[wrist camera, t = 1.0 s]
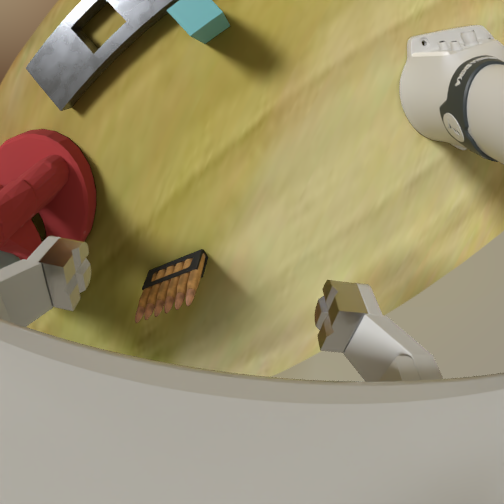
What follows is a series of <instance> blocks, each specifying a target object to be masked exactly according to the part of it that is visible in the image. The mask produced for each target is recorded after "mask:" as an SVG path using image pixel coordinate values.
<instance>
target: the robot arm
mask: <svg viewBox="0 0 504 504" xmlns="http://www.w3.org/2000/svg"><path fill="white" fill-rule="evenodd" d="M422 41H423V42H424V46H423V45H422ZM400 99H401V104H402V107H403V110H404V112H405V115H406V117H407V118H408V120H409V122H410V123H411V124H412V126H413V127H414V128H415V129H416V130H417V131H418V132H419V133H421V134H422V135H424V136H425V137H427V138H429V139H432V140H436V141H443V142H448V143H450V144H451V145H453V146H454V147H456V148H458V149H461V150H466V149H469V150H470V151H472V152H474V153H476V154H478V155H480V156H482V157H483V158H485V159H488V160H491V161H496V162H500V163H502V164H504V46H503V45H502V44H501V43H500V42H499V41H498V40H495V39H494V38H493V36H492V35H491V34H490V33H489V32H488V31H487V30H486V29H485V28H484V27H483V26H481V25H471V26H464V27H458V28H452V29H447V30H441V31H436V32H431V33H426V34H422V35H417V36H413V37H411V38H409V40H408V43H407V61H406V64H405V66H404V69H403V71H402V75H401V79H400ZM88 254H89V250H88V245H87V244H86V242H82V241H77V240H72V239H67V238H61V237H56V236H48V237H47V238H46V239H45V240H44V241H43V242H42V243H41V244H40V245H39V246H38V247H37V249H36V250H35V251H34V252H33V253H32V254H31V255H30V256H29V257H28V258H27V260H25V259H22V260H20V261H18V262H15V263H13V264H11V265H8V266H6V267H4V268H2V269H0V504H504V373H498V374H491V375H482V376H473V377H463V378H451V379H443V378H442V375H441V373H440V370H439V368H438V366H437V363H436V361H435V359H434V356H433V355H432V354H431V353H430V352H429V351H427V350H426V349H425V348H424V347H423V346H421V345H420V344H419V343H418V342H417V341H416V340H415V339H413V338H412V337H411V336H410V335H409V334H408V333H406V332H405V331H404V330H403V329H402V328H400V327H399V326H398V325H397V324H396V323H394V322H393V321H392V320H391V319H390V318H389V317H387V316H383V315H382V312H381V310H380V308H379V305H378V303H377V300H376V298H375V296H374V293H373V291H372V289H371V287H370V286H369V285H368V284H361V283H349V282H341V281H333V280H327V281H326V283H325V285H324V287H323V293H324V296H323V297H321V298H320V299H319V300H318V303H317V306H316V310H315V325H316V327H317V328H318V329H319V330H320V331H319V333H318V341H319V346H320V351H331V352H341V353H344V355H345V356H346V358H347V359H348V360H349V361H350V363H351V364H352V365H353V366H354V368H355V369H356V370H357V371H358V373H359V374H360V375H361V376H362V378H363V379H364V380H365V381H366V382H359V381H358V382H357V381H356V382H355V381H321V380H301V379H288V378H276V377H265V376H255V375H246V374H238V373H230V372H222V371H215V370H208V369H201V368H194V367H188V366H182V365H176V364H171V363H165V362H160V361H154V360H149V359H144V358H139V357H135V356H130V355H125V354H121V353H117V352H112V351H108V350H104V349H100V348H96V347H92V346H88V345H84V344H80V343H77V342H73V341H69V340H66V339H62V338H59V337H56V336H52V335H49V334H46V333H42V332H39V331H36V330H33V329H30V328H27V327H26V326H28V325H29V324H30V323H32V322H33V321H35V320H36V319H37V318H39V317H40V316H42V315H43V314H44V313H46V312H47V311H49V310H50V309H52V308H53V307H57V308H61V309H66V310H70V311H73V310H74V309H75V307H76V305H77V304H78V302H79V300H80V299H81V297H80V293H81V292H83V291H85V290H86V289H87V287H88V285H89V282H90V278H91V264H90V263H89V261H88V260H87V259H86V257H87V255H88ZM52 306H53V307H52Z"/></svg>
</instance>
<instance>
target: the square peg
mask: <svg viewBox="0 0 504 504" xmlns="http://www.w3.org/2000/svg"><path fill="white" fill-rule="evenodd" d="M166 11H167V12H168V13H169V14H170V15H171V16H172V17H173V18H174V19H175V20H176V21H177V22H178V23H179V24H180V25H181V27H182V28H183V29H184V30H185V31H186V32H187V33H188V34H189V35H190V36H191V37H193V38H195V39H197V40H199V41H200V42H202V43H204V44H206V43H207V42H209V41H210V40H211V39H213V38H214V37H215V36H217V35H218V34H220V33H221V32H222V31H224V30H225V29H227V28H228V27H230V24H229V22H228V21H227V19H226V17H225V15H224V13H223V12H222V11H221V10H220V8H219V7H218V6H217V5H216V4H215V3H214V2H213V1H212V0H179V1H178V2H176V3H175V4H174V5H173V6H171V7H170V8H169V9H167V10H166Z"/></svg>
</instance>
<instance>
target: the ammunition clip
mask: <svg viewBox="0 0 504 504" xmlns="http://www.w3.org/2000/svg"><path fill="white" fill-rule="evenodd" d="M207 260H208V257H207V255H206V254H205V252H204V250H202V249H201V250H199V251H196V252H194V253H191V254H189V255H186V256H184V257H181V258H179V259H176V260H174V261H172V262H169V263H167V264H164V265H162V266H159V267H157V268H154V269H152V270H150V271H149V272H148V275H147V277H146V280H145V282H144V285H143V287H142V290H143V293H142V295H141V298H140V300H139V305H138V309H137V311H136V316H135V322H136V323H138V322H139V321H140V320H141V318H142V317H143V315H144V312H145V320H147V319H148V318H149V317H150V316H151V314H152V313H153V310H154V308H155V310H154V313H155V317H157V316H158V315H159V314H160V313H161V311H162V309H163V306H164V304H165V306H164V310H165V313H168V312H169V311H170V309H171V308H172V306H173V303H174V301H175V308H176V310H178V309H179V308H180V307H181V305H182V303H183V301H184V298H185V295H186V305H187V306H189V305H190V304H191V303H192V301H193V299H194V297H195V293H196V290H197V288H198V286H199V282H200V278H202V277H203V274H204V271H205V267H206V264H207Z"/></svg>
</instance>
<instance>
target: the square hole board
mask: <svg viewBox="0 0 504 504" xmlns="http://www.w3.org/2000/svg"><path fill="white" fill-rule="evenodd" d="M178 1H179V0H82V1H81V2H80V3H79V4H78V5H77V6H76V7H75V8H74V9H73V10H72V11H71V12H70V13H69V15H68V16H67V17H66V18H65V19H64V20H63V21H62V22H61V24H60V25H59V26H58V27H57V28H56V29H55V31H54V32H53V33H52V34H51V35H50V37H49V38H48V39H47V40H46V42H45V43H44V44H43V45H42V47H41V48H40V49H39V51H38V52H37V53H36V55H35V56H34V57H33V59H32V60H31V61H30V63H29V64H28V66H27V67H26V69H27V70H28V72H29V73H30V74H31V75H32V77H33V78H34V79H35V80H36V82H37V83H38V84H39V85H40V86H41V88H42V89H43V90H44V91H45V93H46V94H47V95H48V96H49V97H50V99H51V100H52V101H53V102H54V103H55V105H56V106H57V107H58V108H59V109H60V110H61V111H63V110H66V109H69V108H72V106H73V105H74V104H75V103H76V102H77V100H78V99H79V98H80V97H81V96H82V95H83V93H84V92H85V91H86V90H87V89H88V88H89V87H90V86H91V84H92V83H93V82H94V81H95V80H96V79H97V78H98V77H99V76H100V75H101V74H102V73H103V72H104V71H105V70H106V68H107V67H108V66H109V65H110V64H111V63H112V62H113V61H114V60H115V59H116V58H117V57H118V56H119V55H120V54H121V53H123V52H124V51H125V50H126V49H127V48H128V47H129V46H130V45H131V44H132V43H133V42H134V41H135V40H136V39H137V38H139V37H140V36H141V35H142V34H143V33H144V32H145V31H147V30H148V29H149V28H150V27H151V26H152V25H154V24H155V23H156V22H157V21H158V20H159V19H161V18H162V17H163V16H164V15H166V14H167V13H168V12H167V11H166V10H167V9H169V8H170V7H171V6H173V5H174V4H175V3H176V2H178ZM108 2H109V3H110V4H111V6H112V7H113V8H114V9H115V10H116V11H117V12H118V13H119V14H120V15H121V16H122V17H123V18H124V19H125V20H126V21H127V22H126V23H125V24H124V25H122V26H121V27H120V28H119V29H118V30H117V31H116V32H115V33H114V34H113V35H112V36H111V37H110V38H109V39H108V40H107V41H106V42H105V43H104V44H103V45H102V46H101V47H100V48H99V49H98V48H97V46H96V45H95V44H94V43H93V42H92V41H91V40H90V39H89V38H88V36H87V35H86V34H85V33H84V32H83V31H82V30H81V29H82V28H83V27H84V26H85V25H86V24H87V22H88V21H89V20H90V19H91V18H92V17H93V16H94V15H95V14H96V13H97V12H98V11H99V10H100V9H101V8H102V7H103V6H104V5H105V4H107V3H108Z"/></svg>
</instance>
